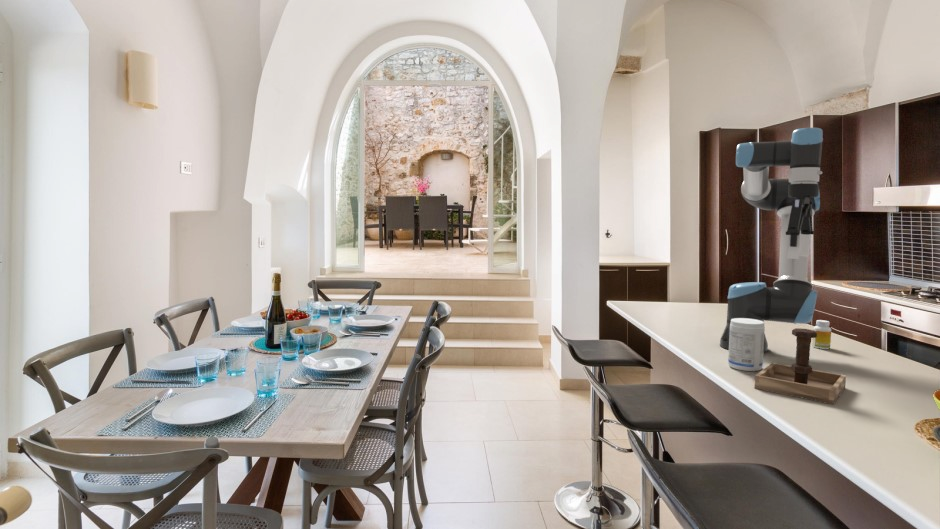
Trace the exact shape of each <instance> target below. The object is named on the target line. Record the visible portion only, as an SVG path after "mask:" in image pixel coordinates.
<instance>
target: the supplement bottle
mask: <svg viewBox="0 0 940 529" xmlns="http://www.w3.org/2000/svg"><path fill="white" fill-rule="evenodd" d="M815 322H816V323H815V326H814V327H813V329H812V330H814V331H816V333H817V338H812V342H811V343H812V344H811V346H812V347H813V348H814V347H815V349H818V348H820V349H819V350H830V349H831V341H832V340H831V339H832V328H831V327H830V324H831V323H830V321H829V320H823V319H817V320H816V321H815ZM829 348H830V349H829Z"/></svg>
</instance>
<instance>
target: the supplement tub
mask: <svg viewBox="0 0 940 529" xmlns="http://www.w3.org/2000/svg"><path fill="white" fill-rule="evenodd" d="M764 333H765V321H764V322H763V321H760V320H756V319H749V318H734V319H731V323H730V334H729V349H728V356H727V357H728V359H727V360H728V362H727V364H728V366H729V367H730V368H732V369H734V370H738V371H744V372H757V371H762V370H763V365H764V352H763V349H764Z"/></svg>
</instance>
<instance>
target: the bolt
mask: <svg viewBox="0 0 940 529" xmlns="http://www.w3.org/2000/svg"><path fill="white" fill-rule="evenodd" d="M791 335H792V336H794V337H796V348H795V349H796V350H795V361H794V362H793V363H791V365H790V366H791V369H792V371H793V372H795V375H794V378H795V379H794V382H797V383H802V384H807V383H808V374H810V373H812V370H813V367H812V365H810V353H811V352H810V351H811V345H812V344H811V343H812V339H813V338H817V333H816V331H814V330H813V329H808V328H799V327H798V328H793V329H792V330H791Z"/></svg>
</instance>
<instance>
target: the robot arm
mask: <svg viewBox="0 0 940 529" xmlns="http://www.w3.org/2000/svg"><path fill="white" fill-rule="evenodd" d="M823 132H824V131H823V129H822V128H819V127H802V128H797V129H794V130H793V131H792V133H791V134H792V135H791V139H790V140H780V141H779V140H777V141H754V142H752V141H750V142H742V143H739V144H737V146H736V150H735V152H736V153H735V166H736V167H738V168H742V169H743V170H742V171H743V173H742V174H743V182H742V184H741V187H740V193H741V196H742V198H743V199H744V201H746V202H747V203H748V204H749V205H750V206H753V207H754V208H757V209H760V210H765V211H776V215H777V216H778V217H779V219H781V222H780V224H781V226H780V241H779V242H780V243H779V264H778V278H777V279H776V280H775V281H773V283H772V287H770V286H769V287H768V286H767V283H766V282H762V281H759V282H757V281H754V282H753V281H752V282H751V281H750V282H739V283H734V284H732V285H730V286H729V288H728V292H727V293H728V295H727V297H726V298H727V310H726V311H727V312H726V324H725V325H726V326H725V327H724V330H723V332H722V334H721V337H720V339H719V347H721V348H723V349H726V350H729V334H730V323H731V319H734V318H749V319H756V320H760V321H763V322H764V323H765V321H767V322H778V323H787V324H788V323H789V324H794V325H796V324H801V325H802V324H803V325H806V324H810V323H811V322H812V319H813V317H814V312H815V308H816V304H817V298H818V290H815V289H813V284H812V283H811V282H810V281H809V280H808V274H809V273H808V272H809V270H808V268H809V258H810V252H811V238H812V236H811V235H815V230H814V229H813V217H814V215H815V213H816V212H817V211H819V210H820V208H821V207H820V206H821V199H820V197H821V193H820V185H819V183H818V182H820V175H822V174H823V171H822V170H821V160H822V153H823V152H822V150H823V142H824V138H823V135H824V134H823ZM770 167H789V170H788V171H789V172H788V178H769V174H770V172H769V171H770ZM768 348H769V344H768V339H767V337H766V333H765V332H764V349H763V353H766V352H768V350H769V349H768Z"/></svg>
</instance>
